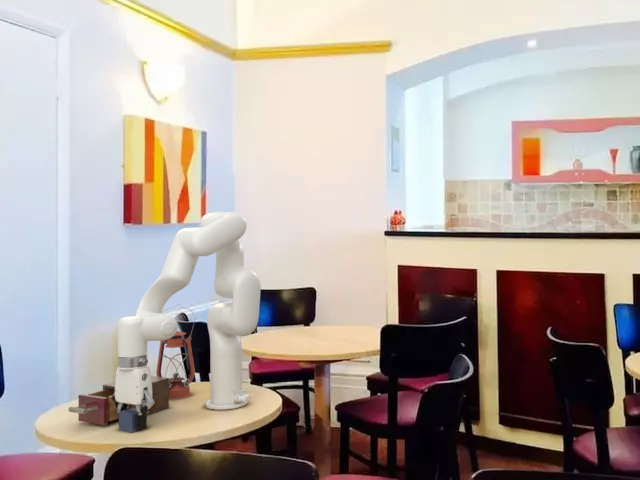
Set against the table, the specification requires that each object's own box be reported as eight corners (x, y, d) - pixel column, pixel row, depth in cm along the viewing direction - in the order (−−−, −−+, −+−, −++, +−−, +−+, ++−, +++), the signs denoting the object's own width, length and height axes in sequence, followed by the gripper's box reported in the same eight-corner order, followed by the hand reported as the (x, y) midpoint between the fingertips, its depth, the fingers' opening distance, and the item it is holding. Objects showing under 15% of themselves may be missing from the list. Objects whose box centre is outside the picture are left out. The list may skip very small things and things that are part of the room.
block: (146, 427, 190) (146, 409, 191) (131, 432, 186) (131, 414, 186) (133, 425, 193) (133, 407, 193) (118, 430, 188) (118, 412, 188)
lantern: (183, 390, 232) (183, 301, 233) (197, 396, 225) (196, 304, 226) (155, 396, 226) (155, 304, 226) (168, 401, 218) (167, 307, 219)
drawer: (88, 430, 186) (88, 402, 186) (62, 425, 190) (63, 399, 191) (142, 412, 202) (142, 387, 202) (117, 408, 207) (117, 384, 207)
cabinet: (130, 420, 198) (130, 388, 198) (102, 415, 203) (102, 384, 203) (169, 407, 211) (168, 378, 211) (141, 403, 216) (141, 374, 216)
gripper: (165, 361, 189) (166, 427, 189) (121, 357, 197) (121, 420, 196) (144, 366, 183) (144, 435, 182) (99, 362, 190) (99, 427, 190)
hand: (132, 426), depth 189 cm, fingers open, 5 cm apart
